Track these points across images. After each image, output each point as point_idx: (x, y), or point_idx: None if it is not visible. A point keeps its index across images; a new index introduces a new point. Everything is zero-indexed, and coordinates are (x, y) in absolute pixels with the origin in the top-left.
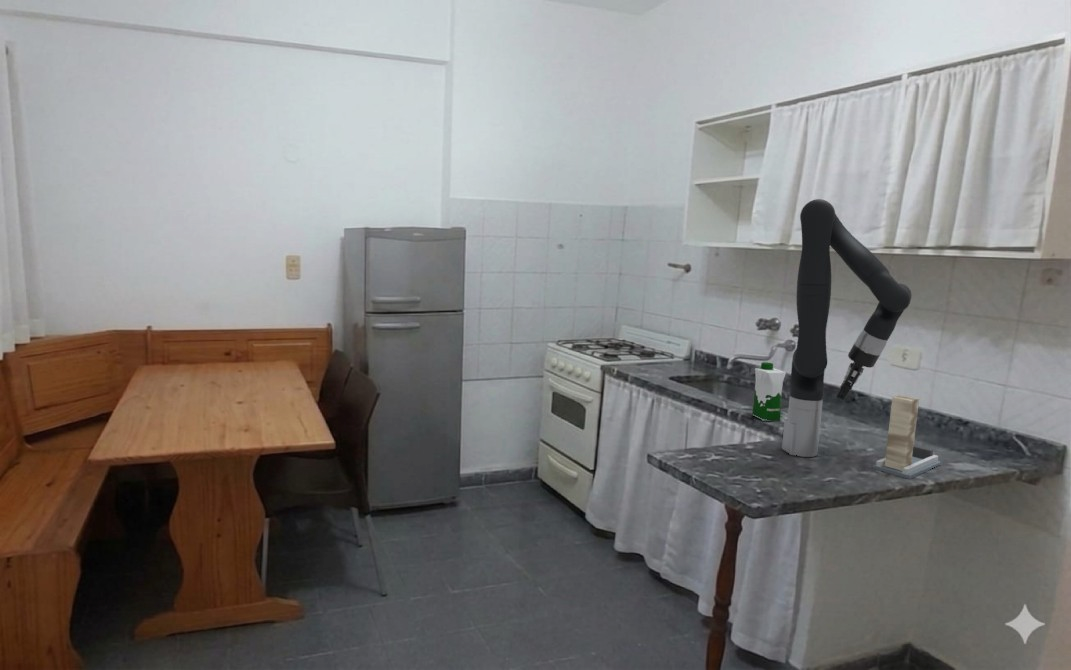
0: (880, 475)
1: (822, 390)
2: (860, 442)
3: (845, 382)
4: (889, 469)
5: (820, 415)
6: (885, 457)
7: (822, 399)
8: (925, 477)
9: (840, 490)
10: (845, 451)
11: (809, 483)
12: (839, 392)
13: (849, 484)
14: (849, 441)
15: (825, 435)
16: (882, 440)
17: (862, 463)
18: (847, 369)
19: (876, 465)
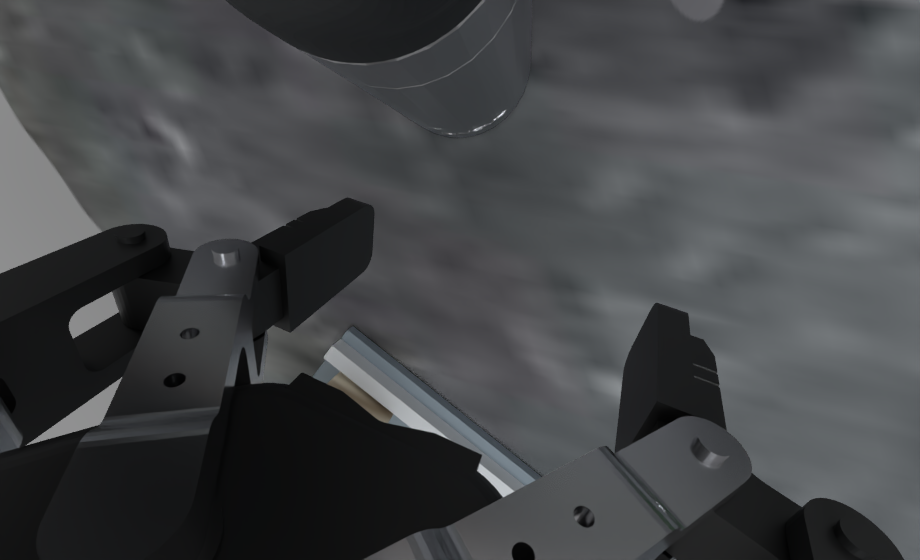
0: (286, 331)
1: (258, 9)
2: (727, 380)
3: (59, 264)
4: (318, 374)
5: (362, 88)
6: (329, 382)
7: (328, 59)
8: None
9: (80, 157)
10: (549, 276)
11: (96, 58)
12: (317, 220)
13: (149, 200)
14: (731, 333)
15: (822, 237)
16: (793, 489)
17: (402, 305)
18: (194, 431)
19: (339, 340)
